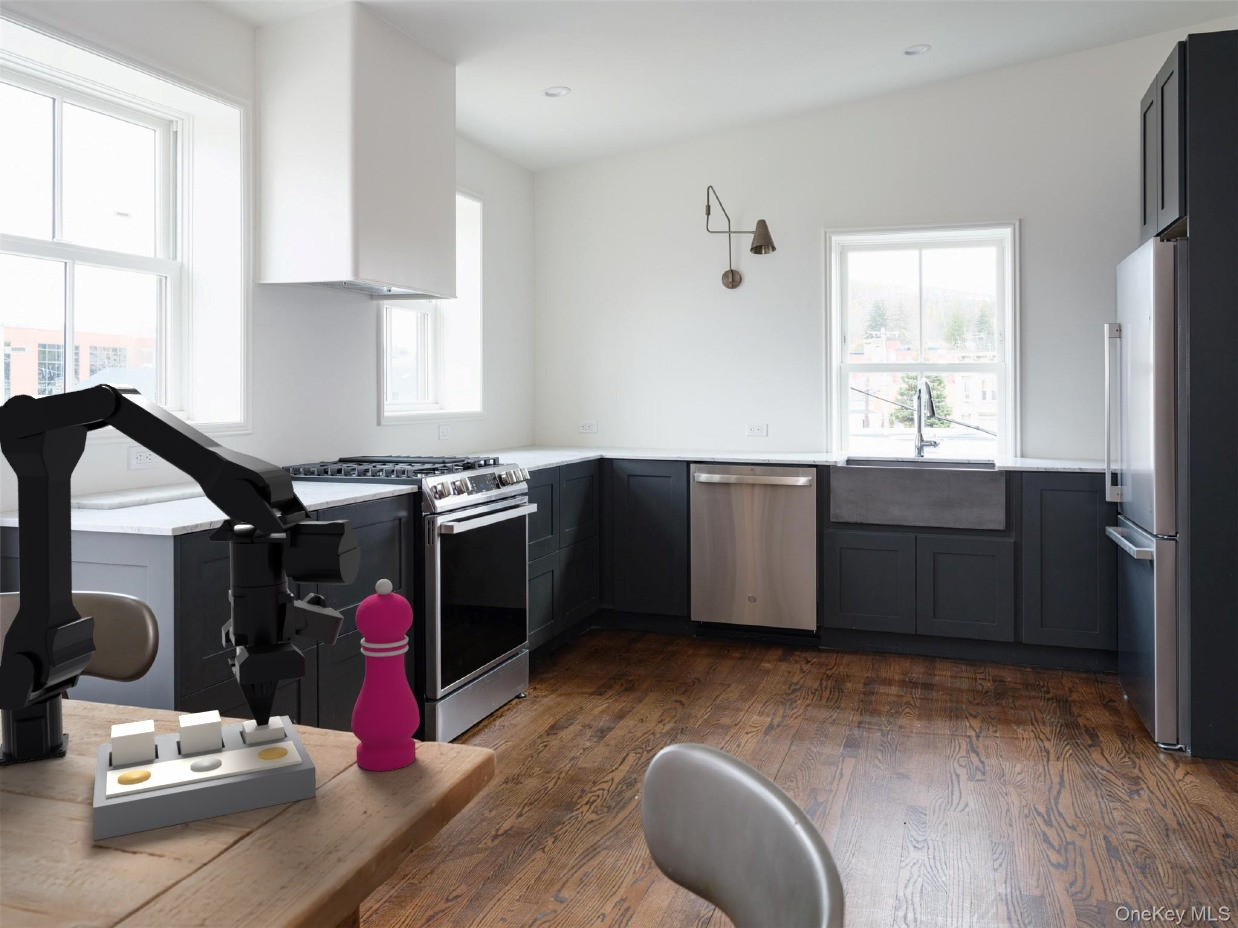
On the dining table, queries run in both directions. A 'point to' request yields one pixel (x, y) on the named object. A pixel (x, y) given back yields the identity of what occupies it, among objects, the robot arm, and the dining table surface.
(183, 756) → the button panel
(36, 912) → the dining table surface
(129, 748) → the button
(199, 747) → the middle button
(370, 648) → the pepper mill
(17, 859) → the dining table surface
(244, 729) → the button
